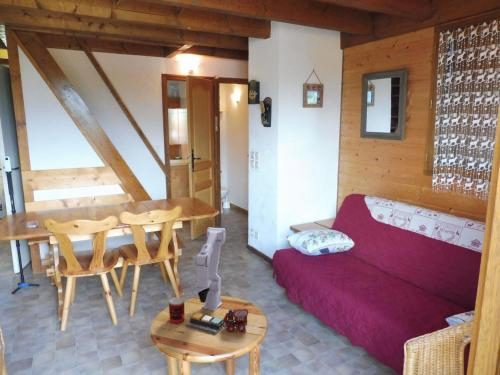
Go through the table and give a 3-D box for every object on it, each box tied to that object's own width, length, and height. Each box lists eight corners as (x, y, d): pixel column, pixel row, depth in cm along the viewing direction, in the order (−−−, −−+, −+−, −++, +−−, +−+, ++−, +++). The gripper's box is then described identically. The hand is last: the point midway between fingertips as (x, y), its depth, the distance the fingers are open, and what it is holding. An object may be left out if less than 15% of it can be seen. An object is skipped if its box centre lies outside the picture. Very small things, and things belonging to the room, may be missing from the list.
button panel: (198, 315, 201) (198, 310, 201) (227, 322, 195) (227, 317, 194) (186, 326, 191) (186, 321, 190) (216, 334, 184) (216, 329, 183)
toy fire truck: (222, 325, 192) (222, 306, 190) (247, 324, 193) (247, 305, 191) (223, 333, 185) (223, 313, 183) (248, 331, 186) (248, 312, 185)
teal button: (215, 321, 193) (215, 317, 192) (222, 322, 191) (222, 319, 191) (211, 325, 189) (211, 321, 189) (218, 326, 188) (218, 323, 187)
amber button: (196, 316, 197) (196, 312, 197) (203, 318, 196) (203, 314, 195) (192, 320, 194) (192, 316, 193) (199, 321, 192) (198, 318, 192)
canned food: (180, 314, 202) (179, 295, 200) (187, 321, 196) (187, 301, 194) (166, 319, 197) (166, 299, 195) (174, 325, 191) (173, 305, 189)
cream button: (205, 318, 195) (205, 315, 195) (212, 320, 193) (212, 316, 193) (201, 322, 191) (201, 318, 191) (208, 324, 190) (208, 320, 189)
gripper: (203, 270, 201) (203, 294, 203) (188, 281, 188) (188, 306, 190) (214, 272, 198) (215, 297, 201) (200, 283, 185) (200, 309, 187)
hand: (203, 302), depth 195 cm, fingers closed
